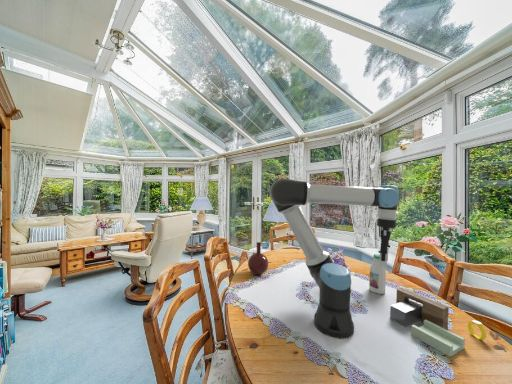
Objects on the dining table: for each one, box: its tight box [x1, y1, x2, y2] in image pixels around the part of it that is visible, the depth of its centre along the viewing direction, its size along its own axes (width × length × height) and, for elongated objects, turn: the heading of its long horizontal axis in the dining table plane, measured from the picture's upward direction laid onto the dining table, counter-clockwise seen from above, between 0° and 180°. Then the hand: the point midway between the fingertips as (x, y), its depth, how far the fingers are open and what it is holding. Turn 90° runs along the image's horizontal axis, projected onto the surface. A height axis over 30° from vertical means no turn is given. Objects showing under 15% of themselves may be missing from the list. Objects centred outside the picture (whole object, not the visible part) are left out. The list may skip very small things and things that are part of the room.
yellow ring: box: [467, 319, 487, 341], centre depth 82 cm, size 6×3×6 cm, turn 175°
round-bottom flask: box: [247, 241, 269, 275], centre depth 137 cm, size 13×13×20 cm
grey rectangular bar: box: [389, 299, 423, 327], centre depth 93 cm, size 18×6×6 cm, turn 116°
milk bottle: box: [368, 253, 387, 295], centre depth 117 cm, size 8×8×20 cm
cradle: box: [410, 320, 466, 358], centre depth 79 cm, size 12×10×4 cm
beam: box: [395, 287, 449, 330], centre depth 93 cm, size 4×18×9 cm, turn 26°
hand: (383, 264), depth 99 cm, fingers open, 13 cm apart
